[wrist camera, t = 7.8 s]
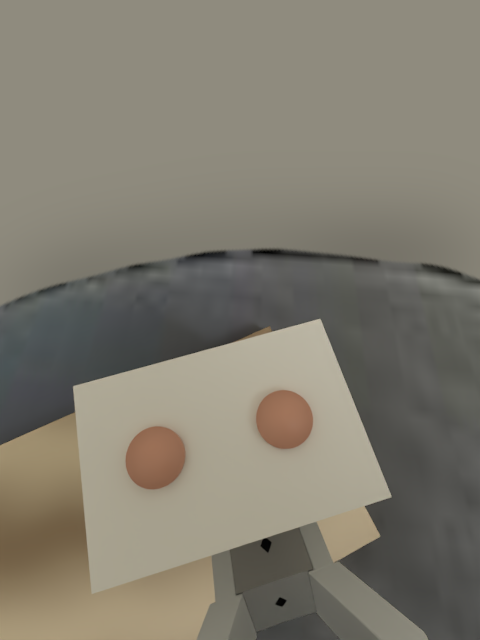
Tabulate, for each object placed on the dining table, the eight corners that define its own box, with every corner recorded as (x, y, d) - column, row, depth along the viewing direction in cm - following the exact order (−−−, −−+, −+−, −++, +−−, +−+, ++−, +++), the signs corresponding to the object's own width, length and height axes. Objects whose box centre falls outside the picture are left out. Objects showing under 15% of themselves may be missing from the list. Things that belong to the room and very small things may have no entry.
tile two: (316, 474, 14) (395, 498, 6) (177, 518, 14) (86, 598, 6) (284, 378, 16) (318, 306, 8) (158, 414, 15) (67, 373, 8)
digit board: (371, 530, 14) (380, 536, 13) (-313, 914, 11) (-365, 957, 10) (268, 332, 18) (269, 326, 17) (-276, 574, 14) (-312, 582, 13)
